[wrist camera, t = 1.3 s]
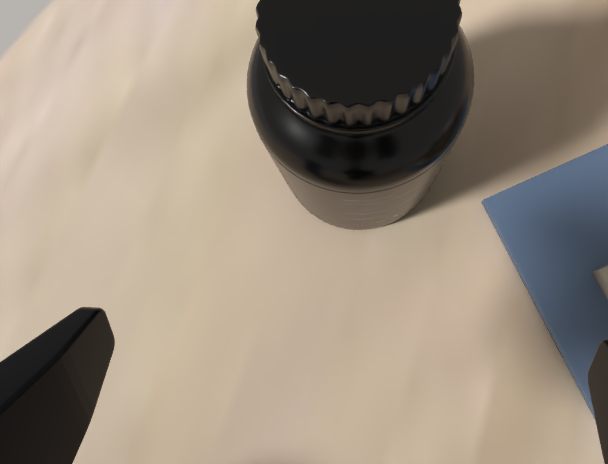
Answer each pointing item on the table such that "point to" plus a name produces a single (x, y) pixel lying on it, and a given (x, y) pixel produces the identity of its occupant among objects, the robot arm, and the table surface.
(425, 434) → the table surface
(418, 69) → the supplement bottle
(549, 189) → the board
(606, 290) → the foundation socket
